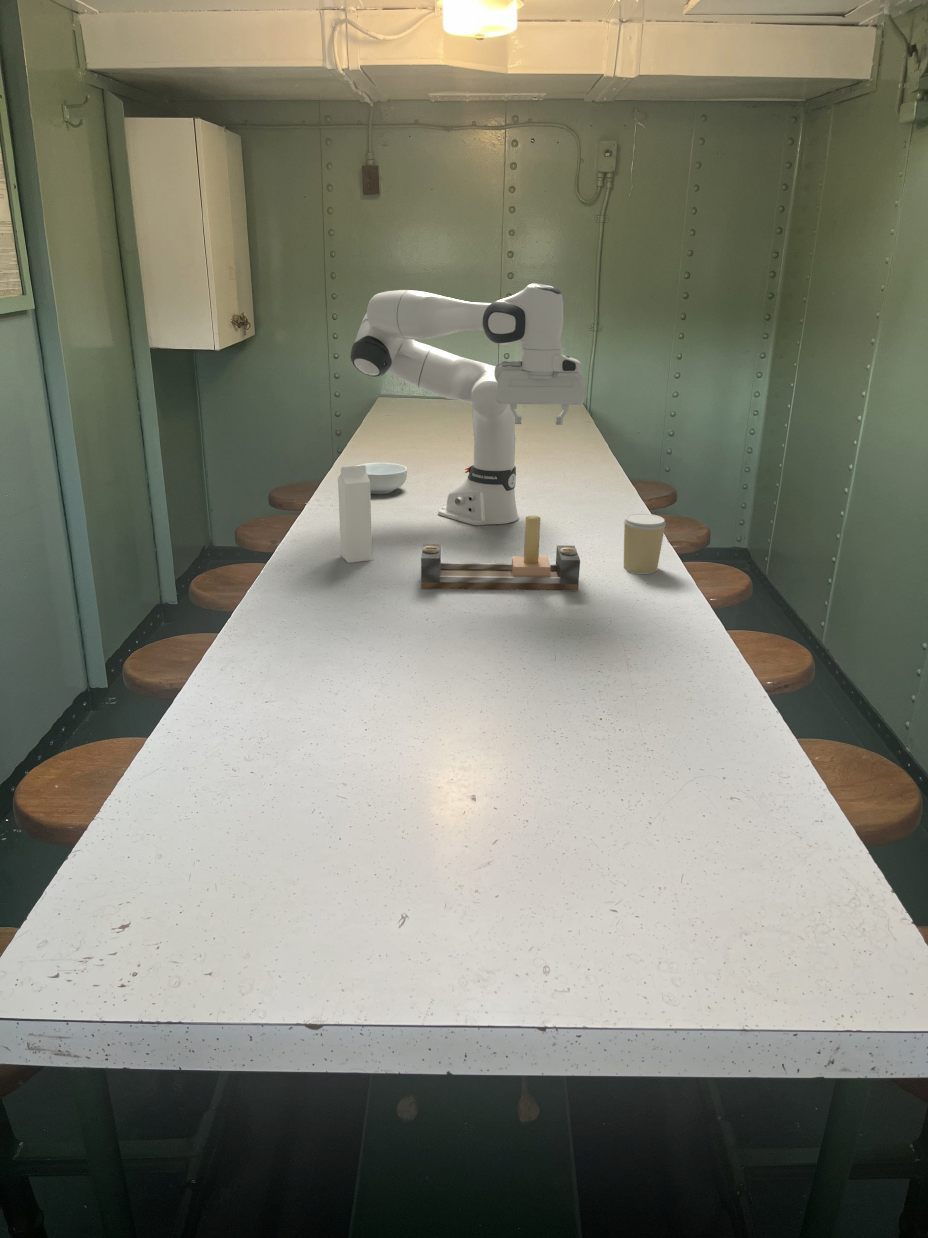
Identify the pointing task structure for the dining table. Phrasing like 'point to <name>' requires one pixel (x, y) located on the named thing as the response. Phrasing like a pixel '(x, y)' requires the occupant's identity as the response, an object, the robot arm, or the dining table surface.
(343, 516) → the milk
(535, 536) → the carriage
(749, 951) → the dining table surface
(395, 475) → the cereal bowl
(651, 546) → the coffee cup
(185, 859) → the dining table surface
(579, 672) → the dining table surface
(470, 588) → the rail track
